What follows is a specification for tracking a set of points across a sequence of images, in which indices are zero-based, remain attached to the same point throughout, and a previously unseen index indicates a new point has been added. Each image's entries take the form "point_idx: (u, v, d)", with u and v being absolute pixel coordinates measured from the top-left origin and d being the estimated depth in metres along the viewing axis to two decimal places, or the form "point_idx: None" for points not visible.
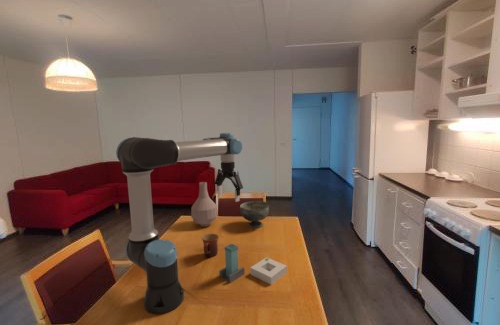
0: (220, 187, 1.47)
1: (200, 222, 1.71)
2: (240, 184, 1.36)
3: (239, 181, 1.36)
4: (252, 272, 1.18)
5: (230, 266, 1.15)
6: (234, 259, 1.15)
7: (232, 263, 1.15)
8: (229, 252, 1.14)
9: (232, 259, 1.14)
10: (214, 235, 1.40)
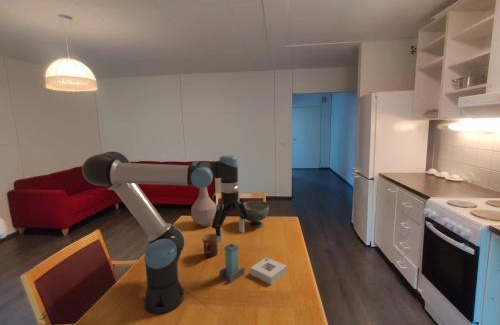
0: (240, 220, 1.19)
1: (200, 222, 1.71)
2: (214, 222, 1.07)
3: (216, 218, 1.07)
4: (252, 272, 1.18)
5: (230, 266, 1.15)
6: (234, 259, 1.15)
7: (232, 263, 1.15)
8: (229, 252, 1.14)
9: (232, 259, 1.14)
10: (214, 235, 1.40)
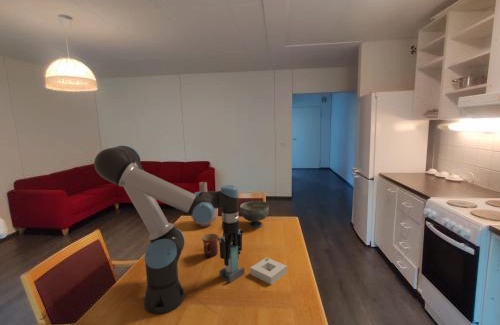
0: None
1: None
2: (222, 254, 1.12)
3: (221, 251, 1.11)
4: (252, 272, 1.18)
5: None
6: (234, 259, 1.15)
7: (232, 263, 1.15)
8: None
9: (232, 259, 1.14)
10: (214, 235, 1.40)
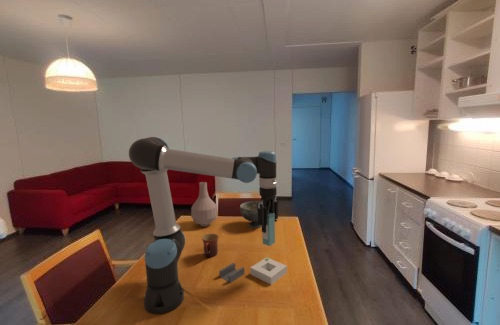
0: None
1: (200, 222, 1.71)
2: (260, 220, 1.10)
3: (260, 216, 1.10)
4: (252, 272, 1.18)
5: None
6: (271, 226, 1.14)
7: (270, 230, 1.13)
8: None
9: (269, 226, 1.13)
10: (214, 235, 1.40)
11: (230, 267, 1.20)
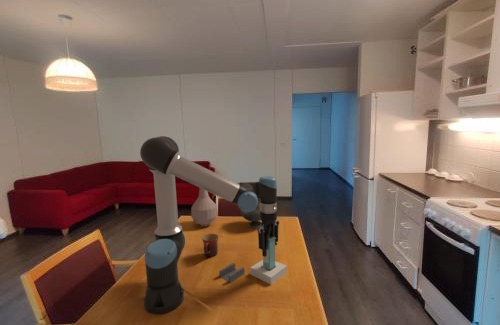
0: None
1: (200, 222, 1.71)
2: (260, 245, 1.12)
3: (260, 241, 1.12)
4: (252, 272, 1.18)
5: None
6: (272, 250, 1.16)
7: (270, 253, 1.15)
8: None
9: (270, 250, 1.14)
10: (214, 235, 1.40)
11: (230, 267, 1.20)
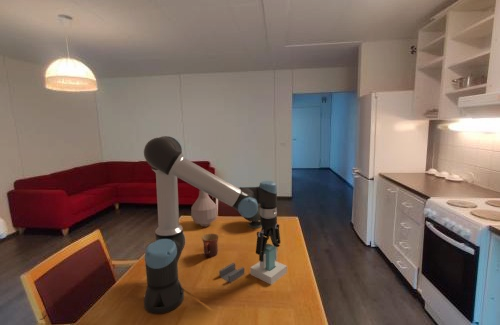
0: None
1: (200, 222, 1.71)
2: (258, 249, 1.11)
3: (258, 245, 1.11)
4: (252, 272, 1.18)
5: (267, 265, 1.16)
6: (271, 259, 1.16)
7: (270, 263, 1.15)
8: (266, 252, 1.15)
9: (269, 259, 1.15)
10: (214, 235, 1.40)
11: (230, 267, 1.20)
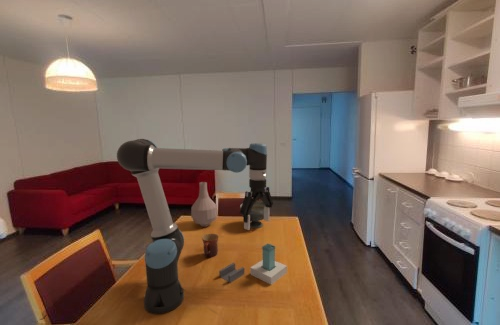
0: (266, 209, 1.20)
1: (200, 222, 1.71)
2: (243, 209, 1.08)
3: (244, 205, 1.08)
4: (252, 272, 1.18)
5: (267, 265, 1.16)
6: (271, 259, 1.16)
7: (270, 262, 1.16)
8: (267, 252, 1.15)
9: (269, 259, 1.15)
10: (214, 235, 1.40)
11: (230, 267, 1.20)
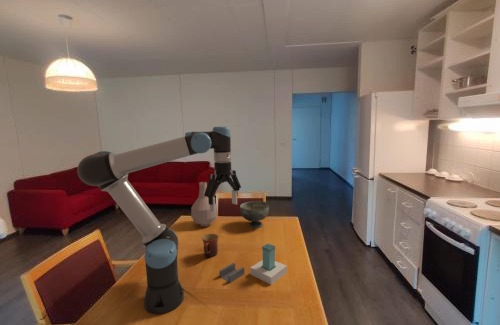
0: (233, 192, 1.21)
1: (200, 222, 1.71)
2: (207, 191, 1.09)
3: (208, 187, 1.09)
4: (252, 272, 1.18)
5: (267, 265, 1.16)
6: (271, 259, 1.16)
7: (270, 262, 1.16)
8: (267, 252, 1.15)
9: (269, 259, 1.15)
10: (214, 235, 1.40)
11: (230, 267, 1.20)
